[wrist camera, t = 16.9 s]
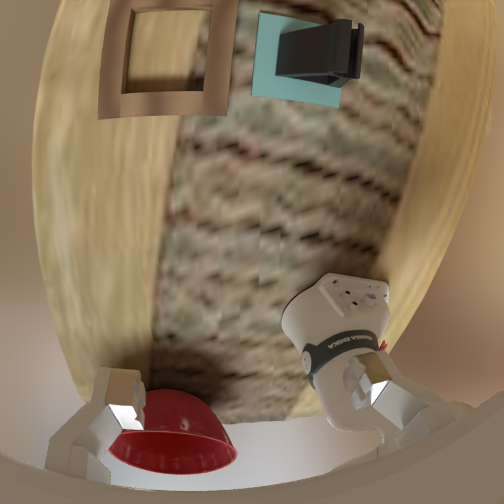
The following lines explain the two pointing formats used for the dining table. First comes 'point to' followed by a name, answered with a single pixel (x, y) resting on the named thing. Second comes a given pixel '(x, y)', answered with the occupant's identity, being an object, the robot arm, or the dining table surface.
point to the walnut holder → (168, 102)
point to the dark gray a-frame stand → (322, 53)
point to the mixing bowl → (175, 437)
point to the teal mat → (267, 60)
